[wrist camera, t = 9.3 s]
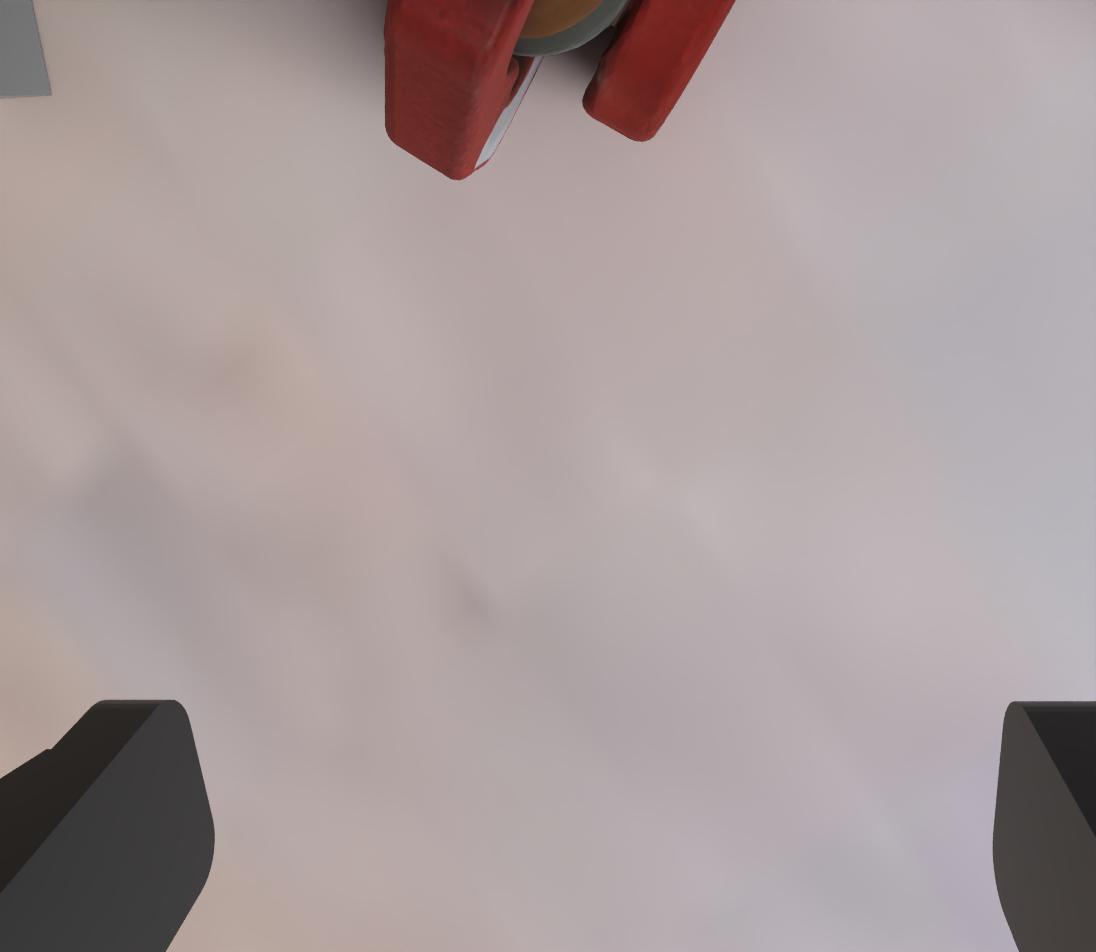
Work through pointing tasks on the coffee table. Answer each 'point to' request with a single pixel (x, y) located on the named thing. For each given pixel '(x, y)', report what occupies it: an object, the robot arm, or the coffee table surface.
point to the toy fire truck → (531, 67)
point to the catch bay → (21, 52)
